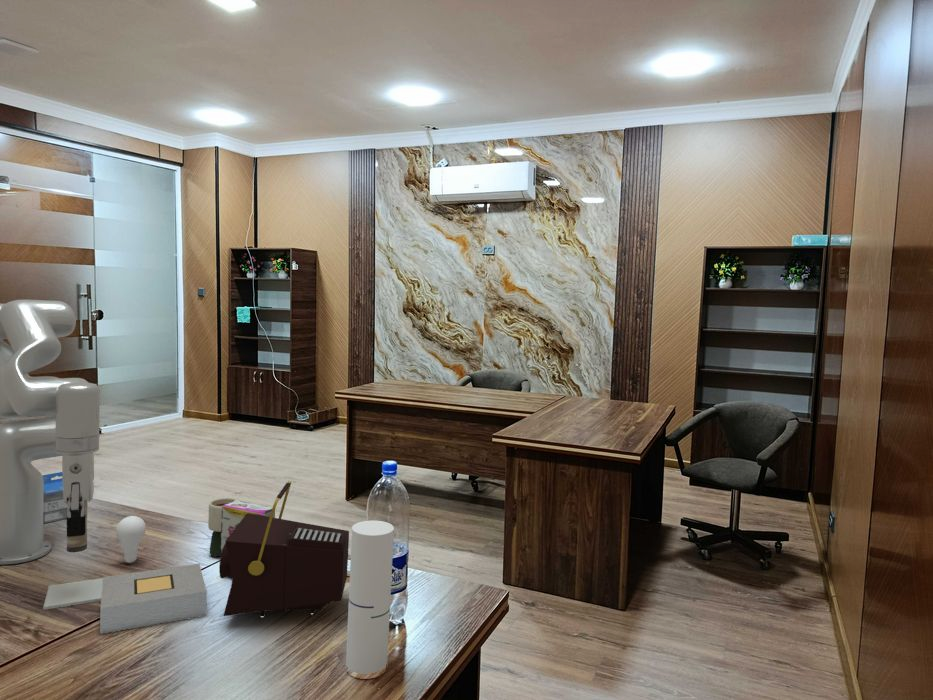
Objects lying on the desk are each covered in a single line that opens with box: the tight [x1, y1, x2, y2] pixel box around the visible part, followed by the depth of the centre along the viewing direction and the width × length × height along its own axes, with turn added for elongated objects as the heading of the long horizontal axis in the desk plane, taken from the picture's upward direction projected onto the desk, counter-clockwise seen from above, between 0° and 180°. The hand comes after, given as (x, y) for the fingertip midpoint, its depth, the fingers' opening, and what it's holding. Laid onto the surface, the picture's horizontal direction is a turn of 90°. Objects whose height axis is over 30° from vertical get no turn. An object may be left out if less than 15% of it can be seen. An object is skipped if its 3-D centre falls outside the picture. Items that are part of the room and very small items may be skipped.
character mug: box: [207, 497, 240, 557], centre depth 151 cm, size 11×7×13 cm, turn 51°
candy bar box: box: [221, 499, 276, 579], centre depth 139 cm, size 11×5×16 cm, turn 71°
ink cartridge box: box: [42, 471, 67, 525], centre depth 168 cm, size 9×4×12 cm, turn 147°
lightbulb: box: [115, 515, 147, 564], centre depth 143 cm, size 6×6×11 cm
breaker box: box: [99, 563, 208, 635], centre depth 123 cm, size 18×14×5 cm
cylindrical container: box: [345, 520, 395, 674], centre depth 107 cm, size 7×7×25 cm
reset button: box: [137, 576, 172, 594], centre depth 123 cm, size 6×6×3 cm
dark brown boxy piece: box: [218, 481, 350, 617], centre depth 126 cm, size 16×23×25 cm
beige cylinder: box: [66, 489, 88, 553], centre depth 126 cm, size 4×4×12 cm
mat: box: [42, 577, 103, 611], centre depth 127 cm, size 10×10×1 cm
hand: (76, 531), depth 126 cm, fingers closed on beige cylinder, 3 cm apart
